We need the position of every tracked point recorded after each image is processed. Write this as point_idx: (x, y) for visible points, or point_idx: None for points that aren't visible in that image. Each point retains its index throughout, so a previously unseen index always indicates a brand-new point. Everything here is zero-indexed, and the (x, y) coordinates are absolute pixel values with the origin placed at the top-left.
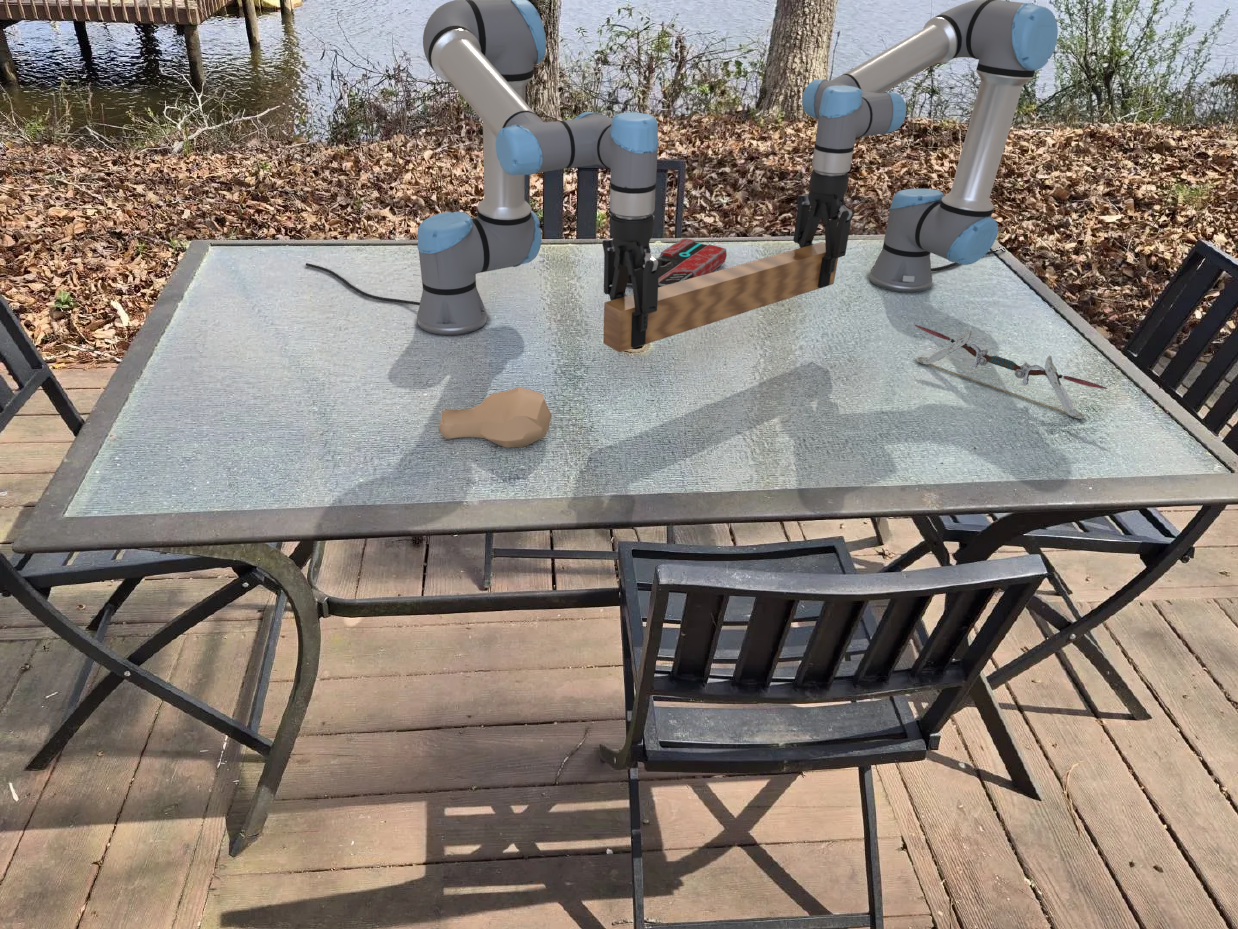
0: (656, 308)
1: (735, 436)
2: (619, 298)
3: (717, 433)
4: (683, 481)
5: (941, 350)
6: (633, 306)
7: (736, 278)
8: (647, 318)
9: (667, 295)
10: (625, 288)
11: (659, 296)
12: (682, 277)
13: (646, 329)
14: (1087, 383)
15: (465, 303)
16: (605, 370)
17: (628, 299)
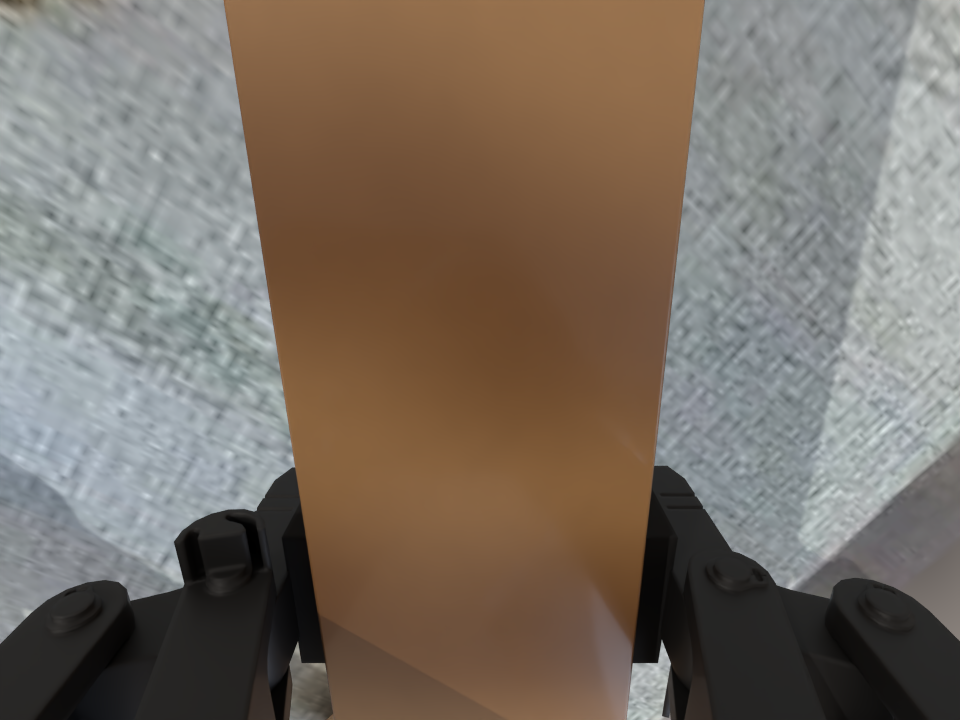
0: (938, 631)
1: (897, 104)
2: (333, 674)
3: (831, 149)
4: (905, 427)
5: None
6: (602, 680)
7: None
8: (719, 536)
9: (614, 90)
10: (259, 683)
11: (562, 239)
12: None
13: (669, 470)
14: None
15: None
16: (192, 191)
17: (413, 624)
